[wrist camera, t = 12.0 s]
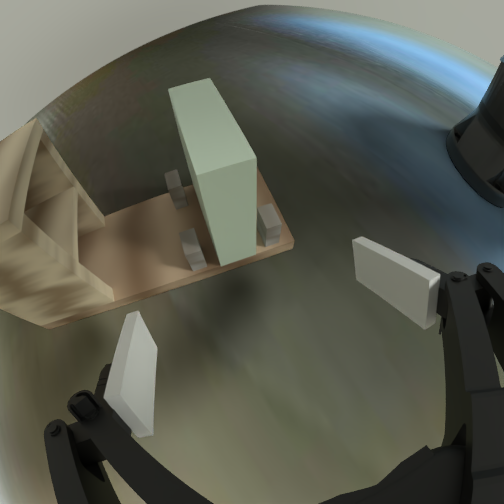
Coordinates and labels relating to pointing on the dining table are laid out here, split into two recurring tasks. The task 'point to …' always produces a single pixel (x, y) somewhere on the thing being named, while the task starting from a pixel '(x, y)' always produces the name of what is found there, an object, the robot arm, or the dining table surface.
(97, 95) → the dining table surface
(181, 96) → the pale green block
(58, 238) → the wooden rack
